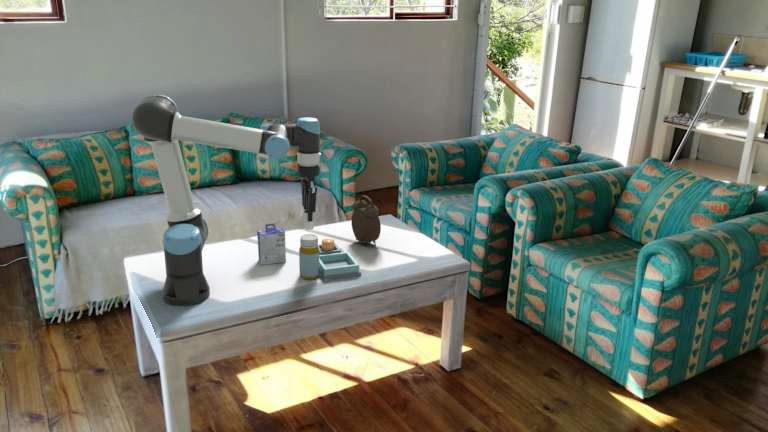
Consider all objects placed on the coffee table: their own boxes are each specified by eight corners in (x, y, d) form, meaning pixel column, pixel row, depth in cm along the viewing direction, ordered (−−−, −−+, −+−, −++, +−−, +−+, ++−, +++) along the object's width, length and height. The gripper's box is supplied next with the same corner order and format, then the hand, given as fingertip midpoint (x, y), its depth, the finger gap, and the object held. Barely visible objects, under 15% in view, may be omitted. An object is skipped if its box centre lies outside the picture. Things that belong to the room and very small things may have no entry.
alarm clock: (383, 247, 267) (384, 200, 260) (367, 250, 263) (368, 202, 257) (364, 235, 279) (365, 190, 272) (349, 238, 275) (350, 192, 268)
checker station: (324, 280, 237) (323, 269, 235) (307, 254, 258) (306, 244, 256) (361, 275, 241) (361, 264, 240) (341, 250, 263) (341, 241, 261)
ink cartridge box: (283, 256, 255) (282, 221, 251) (286, 262, 251) (286, 226, 246) (257, 260, 252) (256, 224, 247) (260, 265, 247) (259, 229, 242)
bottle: (323, 275, 241) (323, 236, 236) (311, 281, 235) (310, 242, 230) (307, 270, 244) (307, 232, 239) (295, 276, 239) (295, 238, 234)
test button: (323, 256, 252) (323, 243, 250) (320, 251, 256) (320, 239, 255) (335, 254, 254) (335, 242, 252) (332, 250, 258) (332, 238, 256)
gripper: (325, 168, 221) (324, 234, 229) (313, 157, 234) (313, 221, 241) (303, 169, 219) (303, 236, 227) (292, 159, 231) (293, 223, 239)
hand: (308, 228), depth 234 cm, fingers closed
